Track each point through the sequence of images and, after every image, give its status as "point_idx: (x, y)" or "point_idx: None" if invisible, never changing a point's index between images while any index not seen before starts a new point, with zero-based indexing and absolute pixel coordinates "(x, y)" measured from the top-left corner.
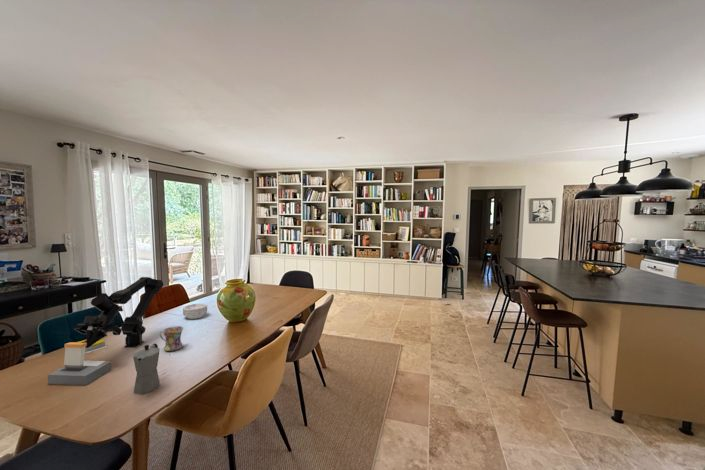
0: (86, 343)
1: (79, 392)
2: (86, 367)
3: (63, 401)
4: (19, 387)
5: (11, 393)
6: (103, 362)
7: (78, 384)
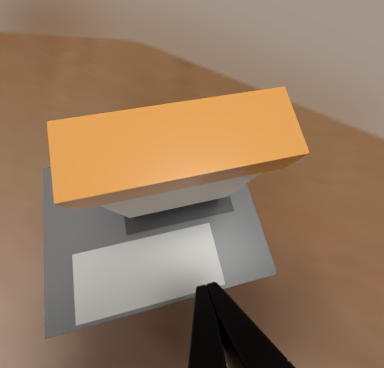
0: (60, 202)
1: (44, 147)
2: (125, 229)
3: (48, 103)
4: None
5: None
6: (74, 304)
7: None
